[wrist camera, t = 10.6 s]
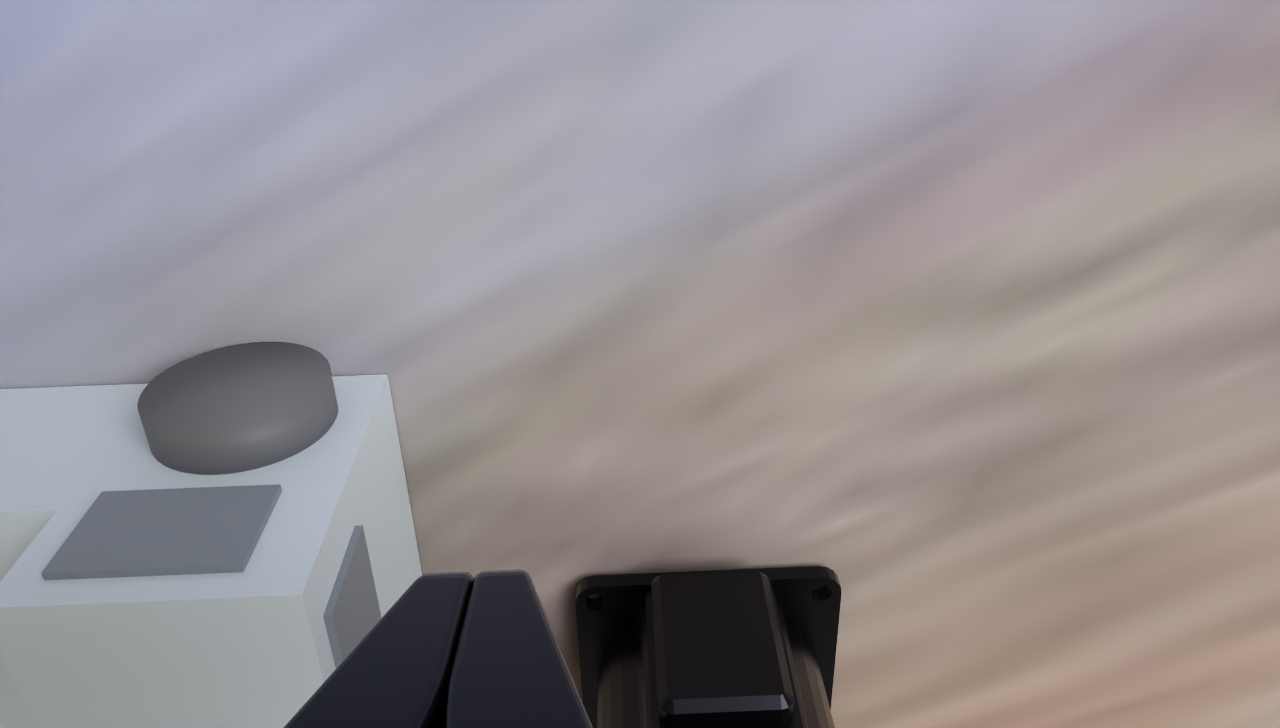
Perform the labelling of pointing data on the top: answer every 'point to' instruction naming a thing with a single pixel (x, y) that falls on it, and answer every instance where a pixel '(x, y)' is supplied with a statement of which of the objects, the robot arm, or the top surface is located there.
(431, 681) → the robot arm
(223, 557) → the white stepped block
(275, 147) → the top surface
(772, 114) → the top surface
